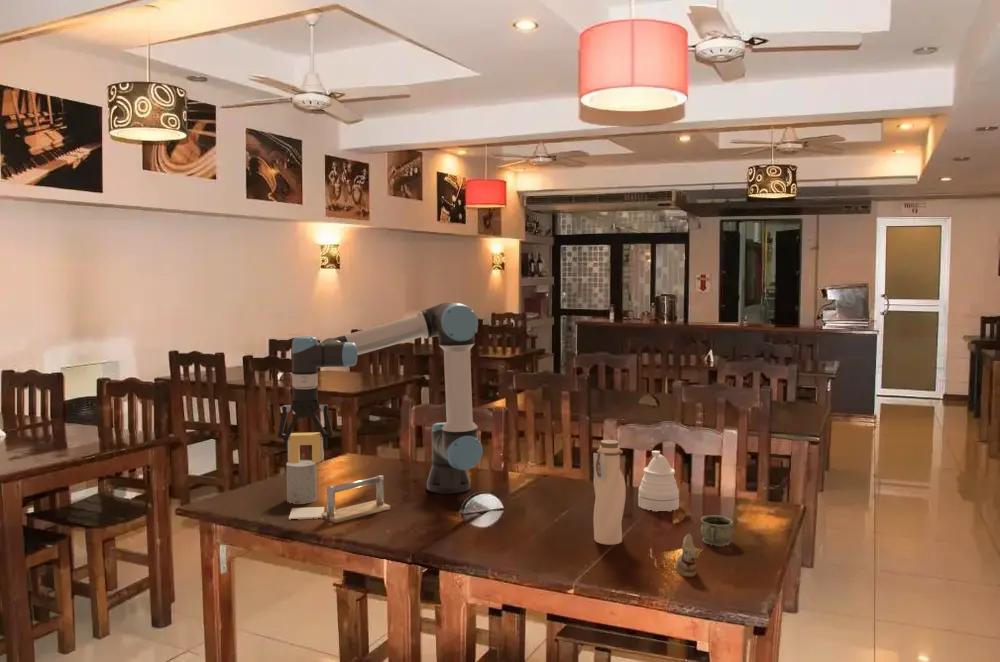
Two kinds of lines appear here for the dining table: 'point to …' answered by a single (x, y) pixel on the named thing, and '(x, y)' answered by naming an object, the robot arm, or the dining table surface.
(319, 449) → the c link
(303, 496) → the grey speckled cylinder
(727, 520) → the vessel
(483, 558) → the dining table surface
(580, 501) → the dining table surface
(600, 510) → the water bottle
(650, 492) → the honey pot
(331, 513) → the rail stand
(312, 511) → the coaster
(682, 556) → the chocolate bunny
